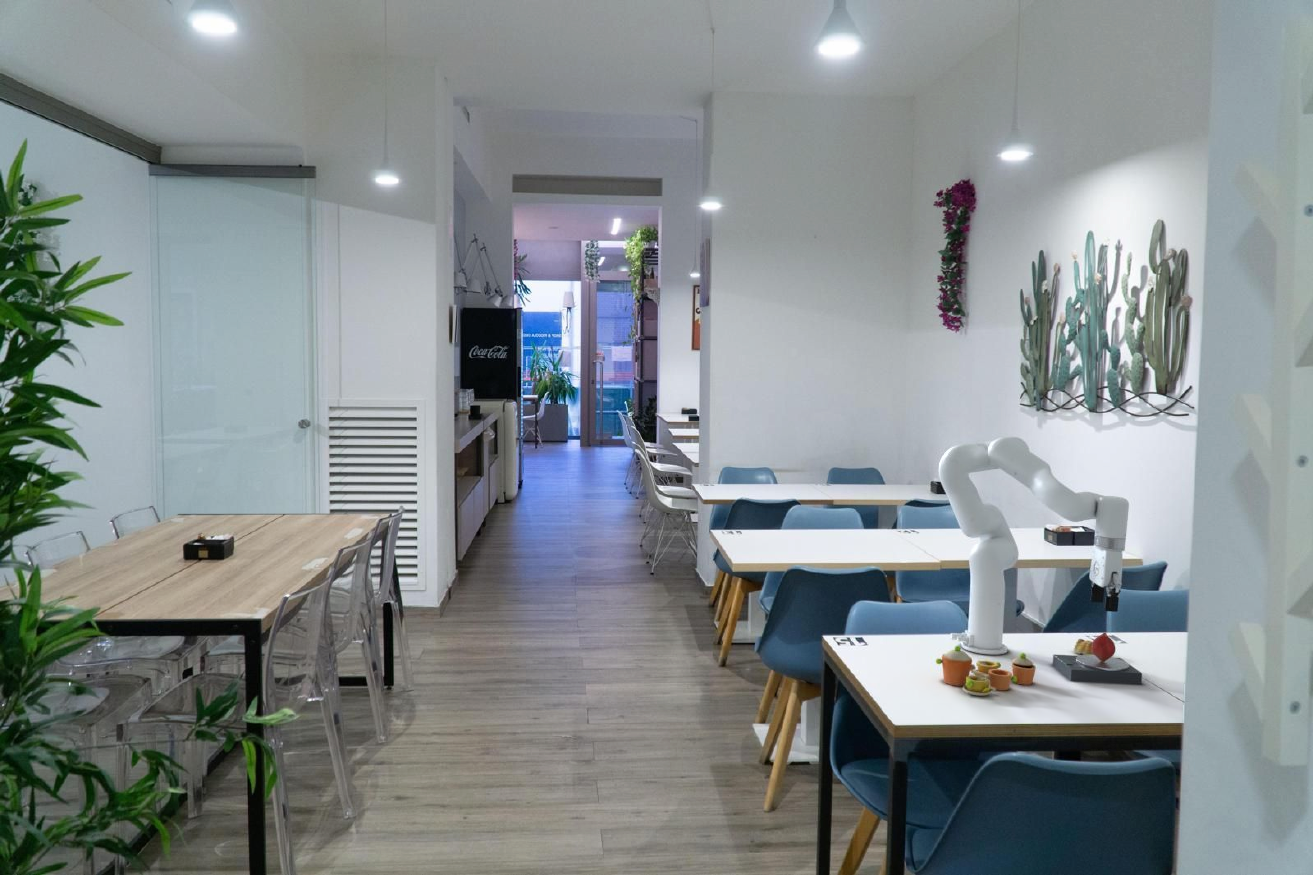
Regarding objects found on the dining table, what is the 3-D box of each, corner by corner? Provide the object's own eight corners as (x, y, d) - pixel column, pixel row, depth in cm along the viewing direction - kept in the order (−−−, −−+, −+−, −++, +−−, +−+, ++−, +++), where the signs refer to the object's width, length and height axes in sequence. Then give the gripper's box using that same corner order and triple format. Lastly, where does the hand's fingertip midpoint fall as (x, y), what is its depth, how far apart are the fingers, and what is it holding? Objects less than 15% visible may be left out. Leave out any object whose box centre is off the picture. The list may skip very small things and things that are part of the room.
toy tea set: (977, 700, 240) (979, 661, 239) (928, 682, 253) (930, 644, 252) (1045, 685, 254) (1048, 648, 253) (996, 668, 267) (998, 633, 266)
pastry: (1114, 656, 283) (1115, 643, 282) (1104, 661, 278) (1105, 647, 278) (1081, 649, 289) (1081, 636, 289) (1071, 653, 284) (1072, 640, 284)
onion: (1086, 658, 267) (1088, 629, 266) (1106, 658, 267) (1108, 629, 267) (1097, 664, 261) (1099, 634, 261) (1118, 664, 262) (1120, 635, 261)
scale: (1070, 680, 258) (1071, 668, 258) (1052, 665, 272) (1053, 653, 272) (1141, 684, 257) (1142, 672, 257) (1119, 668, 271) (1120, 657, 271)
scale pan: (1086, 669, 258) (1086, 667, 258) (1068, 655, 271) (1068, 653, 271) (1137, 672, 257) (1137, 670, 257) (1117, 657, 270) (1117, 655, 270)
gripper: (1083, 536, 271) (1077, 597, 273) (1107, 548, 254) (1101, 614, 255) (1111, 538, 271) (1105, 599, 272) (1137, 550, 253) (1131, 616, 255)
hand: (1103, 606), depth 264 cm, fingers open, 9 cm apart
